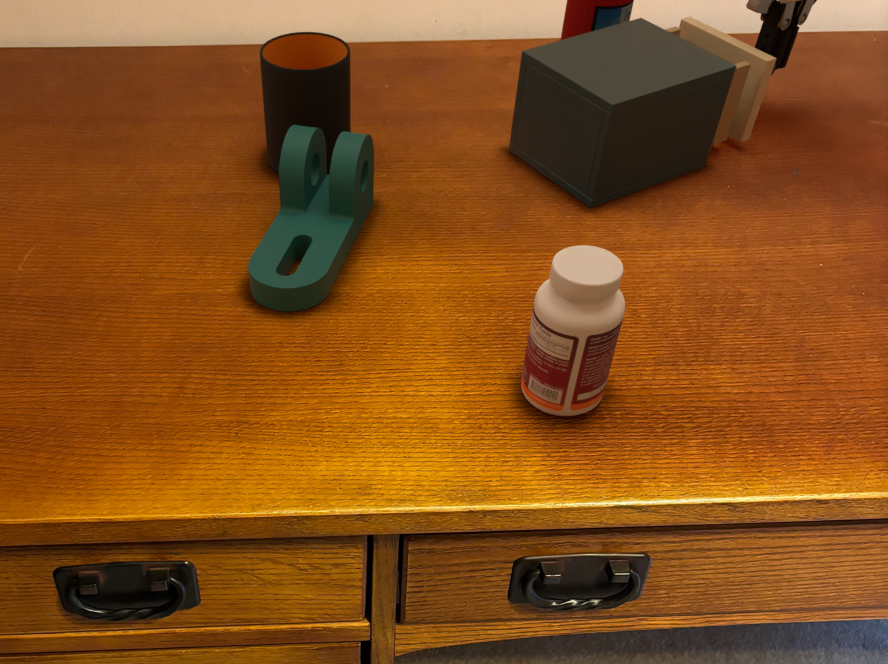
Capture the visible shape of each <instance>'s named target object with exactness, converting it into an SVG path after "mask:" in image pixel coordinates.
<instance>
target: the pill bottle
mask: <svg viewBox="0 0 888 664" xmlns="http://www.w3.org/2000/svg"><path fill="white" fill-rule="evenodd" d="M623 274H624V266H623V262H622V260H621V259H620V258H619V257H618V256H617V255H616V254H615V253H613V252H611V251H610V250H608V249H606V248H602V247H599V246H595V245H588V244H587V245H586V244H578V245H571V246H568V247H565V248H563V249H561V250H559V251H558V252H557V253H556V254H555V255H554V256H553V259H552V261H551V266H550V270H549V277H548V279H546V280H544V282H543V283H542V284H540V286H539V288H538V289H537V290H536V293H535V296H534V301H533V306H532V312H531V318H530V324H529V330H528V335H527V342H526V348H525V354H524V360H523V365H522V371H521V380H520V385H521V386H520V387H521V392H522V393H523V394H522V395H523V396H524V398H525V399H526V400H527V402H529V404H531V406H533V407H534V408H536V409H538V410H539V411H540V412H543V413H546V414H548V415H553V416H558V417H573V416H579V415H582V414H585V413H588V412H590V411H592V410H593V409H595V408H597V406H598V405H599V403H600V402H601V401H602V399H603V396H604V394H605V391H606V387H607V383H608V379H609V375H610V371H611V367H612V363H613V360H614V356H615V351H616V348H617V344H618V340H619V336H620V332H621V329H622V323H623V321H624V316H625V312H626V299H625V297H624V295H623V293H622V291H621V289H620V286H621V281H622V278H623Z"/></svg>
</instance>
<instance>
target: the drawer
mask: <svg viewBox="0 0 888 664" xmlns="http://www.w3.org/2000/svg"><path fill="white" fill-rule="evenodd" d="M664 29H665V30H666V31H668V32H670V33H672V34H674V35H676V36H678V37H680V38H682V39H684V40H686V41H688V42H690V43H692V44H694V45H696V46H698V47H700V48H702V49H704V50H706V51H708V52H710V53H712V54H714V55H716V56H718V57H720V58H722V59H724V60H726V61H728V62H730V63H732V64H734V65H736V66H737V67H736V70H735V73H734V76H733V79H732V82H731V85H730V89H729V92H728V95H727V98H726V102H725V105H724V108H723V111H722V114H721V118H720V121H719V124H718V127H717V131H716V134H715V137H714V140H713V143H712V146H713V145H716V144H719V143H722V142H724V141H727V140H728V138H729V137H731V138H732V139H734V140H736V141H737V142H740V143H743V142H746V141H748V140H750V138H751V135H752V133H753V129H754V126H755V123H756V120H757V118H758V114H759V111H760V109H761V105H762V103H763V100H764V97H765V95H766V91H767V89H768V85H769V82H770V80H771V77H772V76H773V75H774V74H775V72H776V70H775V69H776V65H775V62H776V59H777V58H775V57H773V56H771V55H769V54H767V53H764V52H762V51H760V50H758V49H756V48H755V46H752V45H749V44H748V43H746V42H743V41H742V40H740V39H738V38H735V37H733V36H731V35H729V34H727V33H725V32H723V31H721V30H719V29H717V28H714V27H713V26H710V25H709V24H707V23H704V22H702V21H700V20H698V19H696V18H694V17H693V16H687V17H683V18H681V19H680V23H679V27H677V26H672V27H669V28H664Z"/></svg>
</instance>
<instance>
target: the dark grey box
mask: <svg viewBox="0 0 888 664" xmlns="http://www.w3.org/2000/svg"><path fill="white" fill-rule="evenodd" d="M665 29H666V28H662V27H661V26H659V25H657V24H654V23H652V22H650V21H649V20H647V19H645V18H643V17H639V18H635V19H632V20H630V21H628V22H624V23H621V24H617V25H613V26H610V27H606V28H603V29H599V30H595V31H592V32H588V33H585V34H581V35H577V36H574V37H570V38H567V39H563V40H561V39H560V40H556V41H552V42H550V43H545V44H542V45H538V46H535V47H532V48H528V49H523V50H522V51H521V56H520V62H519V63H520V64H519V71H518V77H517V78H518V79H517V86H516V92H515V93H516V94H515V100H514V108H513V115H512V124H511V129H510V130H511V131H510V138H509V146H508V151H509V152H510V153H511V154H513V155H514V156H516V157H517V158H519V159H520V160H522V162H524V163H525V164H528V166H530V167H531V168H533V169H534V170H535V171H537V172H539V173H540V174H541V175H542V176H544V177H545V178H547V179H548V180H550V181H551V182H553V183H554V184H555V185H557V186H558V187H560V188H561V189H563V190H564V191H565V192H567V193H568V194H570V195H571V196H572V197H574V198H575V199H577V200H578V201H580V203H582V204H584V205H585V206H586V207H588V208H589V209H593V208H595V207H597V206H600V205H604V204H606V203H609V202H611V201H614V200H617V199H620V198H623V197H625V196H627V195H631V194H633V193H636V192H639V191H642V190H644V189H648V188H651V187H653V186H655V185H658V184H662V183H664V182H667V181H670V180H673V179H675V178H679V177H680V176H684V175H686V174H687V175H688V174H689V173H692V172H694V171H698V170H700V169H703V168H705V167H706V165H707V162H708V159H709V155H710V153H711V149H712V146H713V145H712V143H713V140H714V137H715V134H716V131H717V127H718V124H719V121H720V118H721V114H722V111H723V108H724V105H725V102H726V98H727V95H728V92H729V89H730V85H731V82H732V79H733V76H734V73H735V70H736V67H737V66H736V65H734V64H732V63H730V62H728V61H726V60H724V59H722V58H720V57H718V56H716V55H714V54H712V53H710V52H708V51H706V50H704V49H702V48H700V47H698V46H696V45H694V44H692V43H690V42H688V41H686V40H684V39H682V38H680V37H678V36H676V35H674V34H672V33H670V32H668V31H666V30H665Z"/></svg>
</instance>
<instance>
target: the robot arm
mask: <svg viewBox="0 0 888 664" xmlns="http://www.w3.org/2000/svg"><path fill="white" fill-rule="evenodd" d="M817 1H818V0H748V1H747V3H746V9H748V10H750V11H752V12H754V13H756V14H760V16H759V20H760V21H761V22H762V24H761V27H760V30H759V33H758V36H757V39H756V43H755V46H754V48H756V49H758V50H760V51H762V52H764V53H767V54H769V55H771V56H773V57H775V58H777V59H776V62H775V65H776V69H775V71H777V70H780V69H784V68H786V66H787V64H788V61H789V58H790V55H791V53H792V50H793V47H794V44H795V41H796V39H797V36H798V33H799V30H800V26H802V25H803V24H804V23H805V22H806V21H807V19H808V17H809V15H810V13H811V10H812V8H813V6H814V5H815V4H816V3H817Z"/></svg>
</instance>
